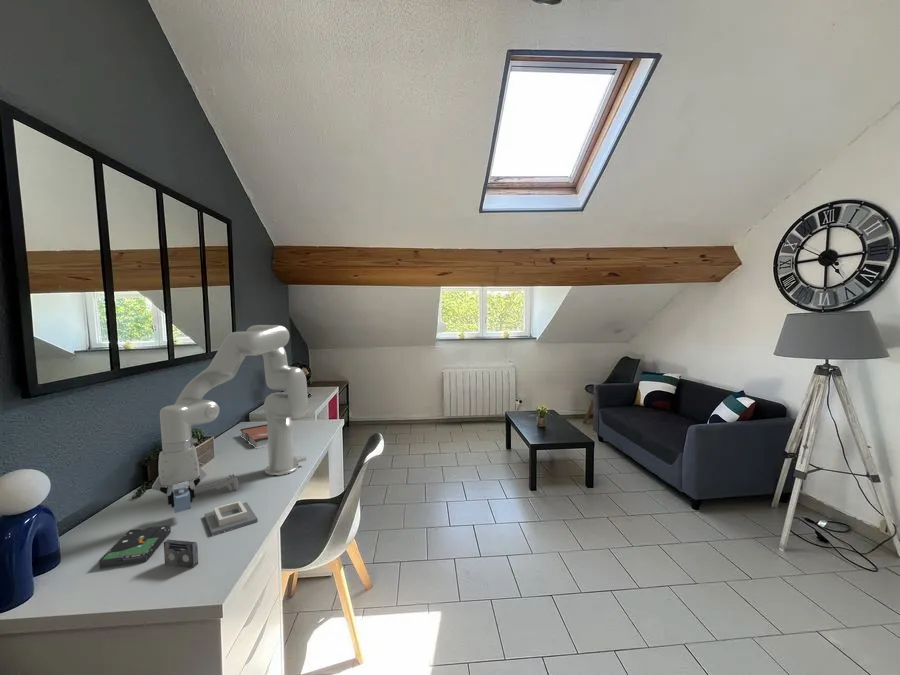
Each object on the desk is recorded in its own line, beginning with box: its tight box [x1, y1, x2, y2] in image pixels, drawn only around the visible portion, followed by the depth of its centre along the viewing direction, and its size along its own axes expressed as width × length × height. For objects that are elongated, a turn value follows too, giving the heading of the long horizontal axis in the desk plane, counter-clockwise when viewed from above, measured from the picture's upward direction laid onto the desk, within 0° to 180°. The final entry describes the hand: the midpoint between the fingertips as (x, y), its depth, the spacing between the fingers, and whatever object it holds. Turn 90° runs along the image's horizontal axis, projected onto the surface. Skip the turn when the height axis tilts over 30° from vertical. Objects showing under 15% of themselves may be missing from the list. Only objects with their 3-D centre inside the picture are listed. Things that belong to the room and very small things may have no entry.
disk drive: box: [98, 524, 172, 570], centre depth 106 cm, size 10×3×15 cm
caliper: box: [194, 473, 239, 494], centre depth 139 cm, size 20×1×6 cm, turn 106°
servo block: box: [172, 484, 192, 514], centre depth 121 cm, size 4×9×6 cm, turn 39°
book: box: [240, 423, 268, 447], centre depth 202 cm, size 26×18×5 cm
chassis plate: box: [203, 500, 259, 536], centre depth 121 cm, size 12×14×3 cm
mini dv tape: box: [163, 539, 199, 569], centre depth 99 cm, size 8×2×6 cm, turn 81°
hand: (181, 502), depth 122 cm, fingers closed on servo block, 4 cm apart
